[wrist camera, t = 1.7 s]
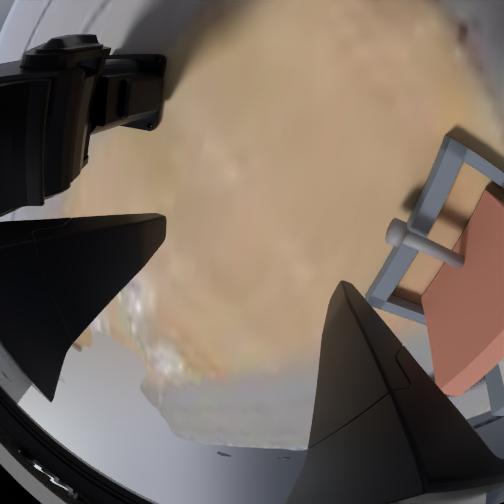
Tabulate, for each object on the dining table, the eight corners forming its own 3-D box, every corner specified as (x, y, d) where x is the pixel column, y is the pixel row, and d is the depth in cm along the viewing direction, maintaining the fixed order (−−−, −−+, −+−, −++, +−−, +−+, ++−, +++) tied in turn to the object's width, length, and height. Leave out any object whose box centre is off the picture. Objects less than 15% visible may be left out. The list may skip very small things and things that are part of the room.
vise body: (365, 294, 23) (362, 394, 15) (445, 134, 14) (521, 182, 6) (488, 339, 21) (506, 416, 13) (566, 229, 12) (617, 296, 4)
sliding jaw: (358, 273, 22) (354, 373, 14) (416, 150, 16) (474, 207, 8) (440, 305, 21) (459, 396, 13) (504, 203, 15) (568, 278, 7)
